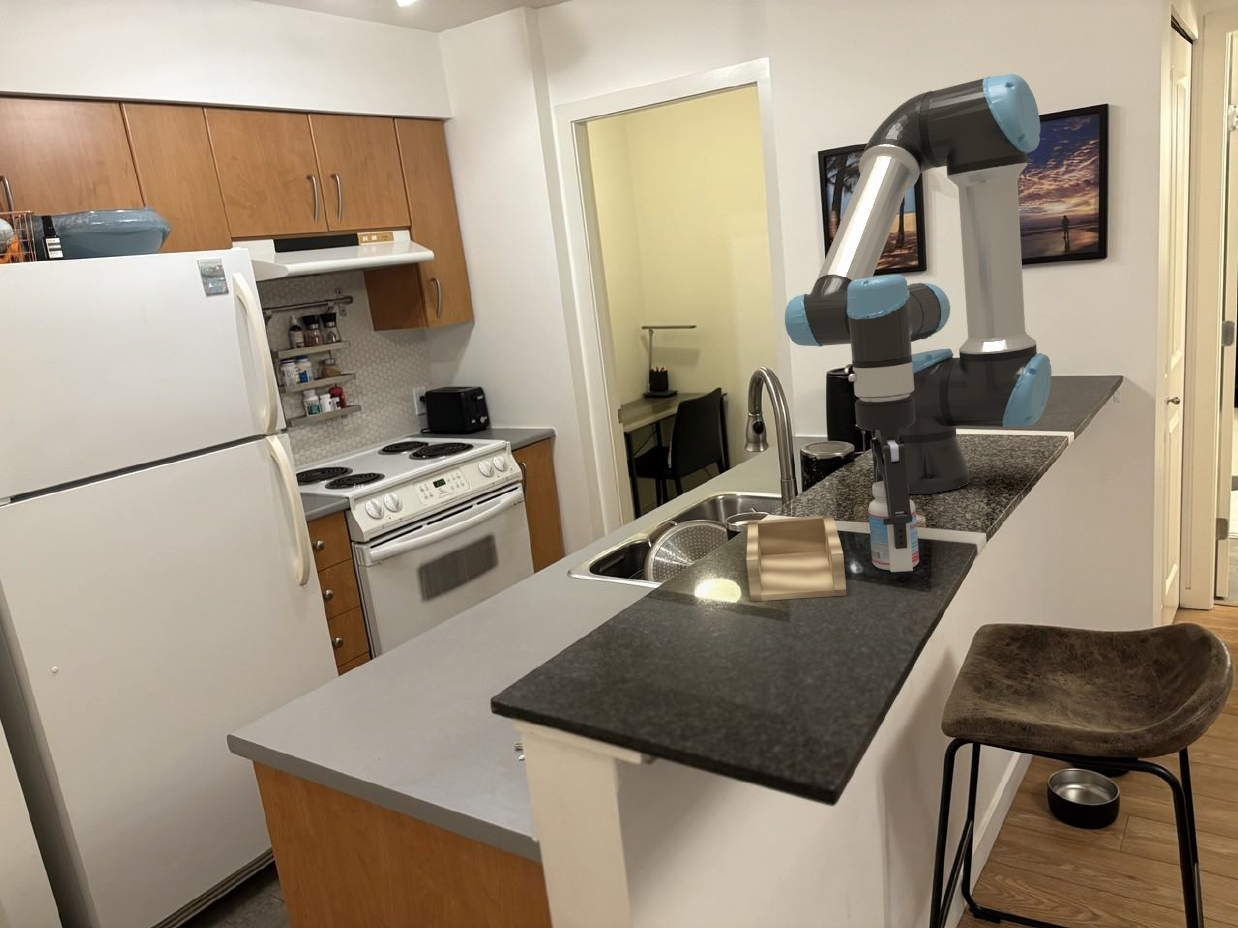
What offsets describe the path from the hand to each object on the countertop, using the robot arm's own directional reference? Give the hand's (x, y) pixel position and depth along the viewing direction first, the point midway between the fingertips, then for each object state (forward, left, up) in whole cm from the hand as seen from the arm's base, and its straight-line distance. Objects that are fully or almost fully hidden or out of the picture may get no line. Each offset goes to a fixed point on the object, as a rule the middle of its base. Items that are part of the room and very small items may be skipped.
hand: (895, 556), depth 125 cm
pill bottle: (0, 0, -1) cm, 1 cm away
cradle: (+11, -8, -1) cm, 14 cm away
